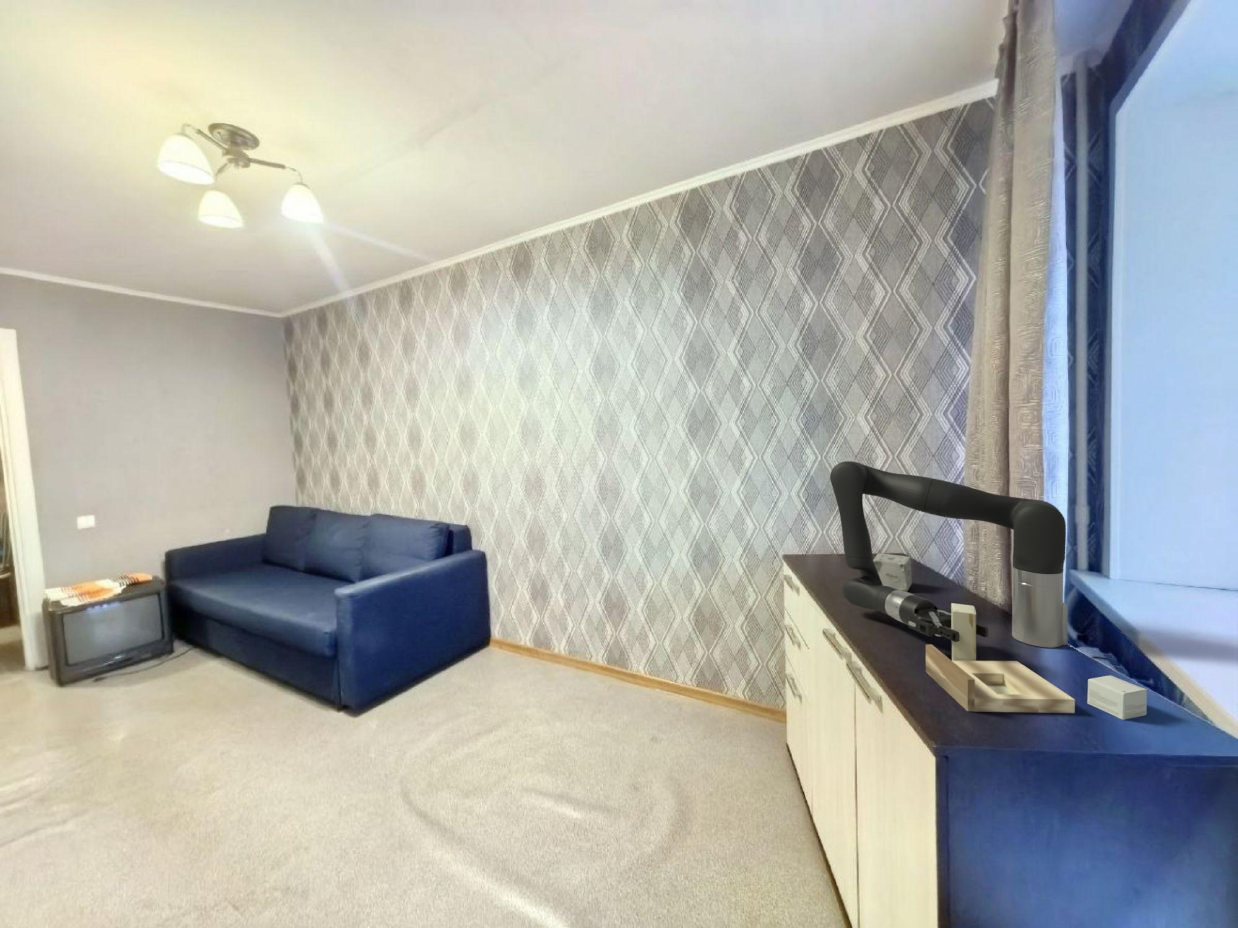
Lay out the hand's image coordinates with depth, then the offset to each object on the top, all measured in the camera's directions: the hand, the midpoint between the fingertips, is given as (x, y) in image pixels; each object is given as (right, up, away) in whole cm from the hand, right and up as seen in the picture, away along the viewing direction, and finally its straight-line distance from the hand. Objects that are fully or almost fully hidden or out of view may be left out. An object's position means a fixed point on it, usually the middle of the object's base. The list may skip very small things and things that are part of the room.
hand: (972, 634), depth 107 cm
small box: (+14, -8, -17) cm, 23 cm away
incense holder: (+12, -3, +53) cm, 55 cm away
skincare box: (0, -7, +2) cm, 8 cm away
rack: (-2, -8, -9) cm, 12 cm away
